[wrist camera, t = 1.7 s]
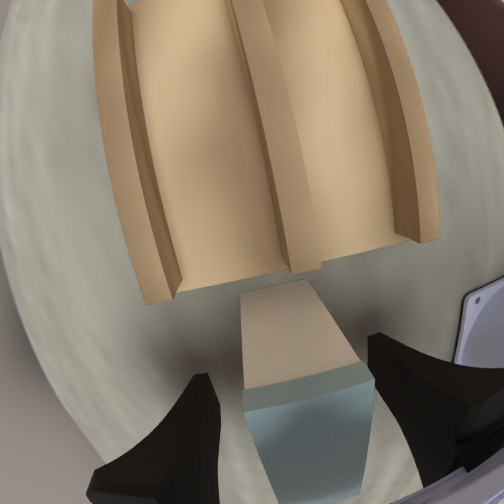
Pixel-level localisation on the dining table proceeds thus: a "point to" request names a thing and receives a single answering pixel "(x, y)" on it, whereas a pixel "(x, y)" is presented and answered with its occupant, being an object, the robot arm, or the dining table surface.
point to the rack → (259, 136)
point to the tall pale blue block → (304, 395)
